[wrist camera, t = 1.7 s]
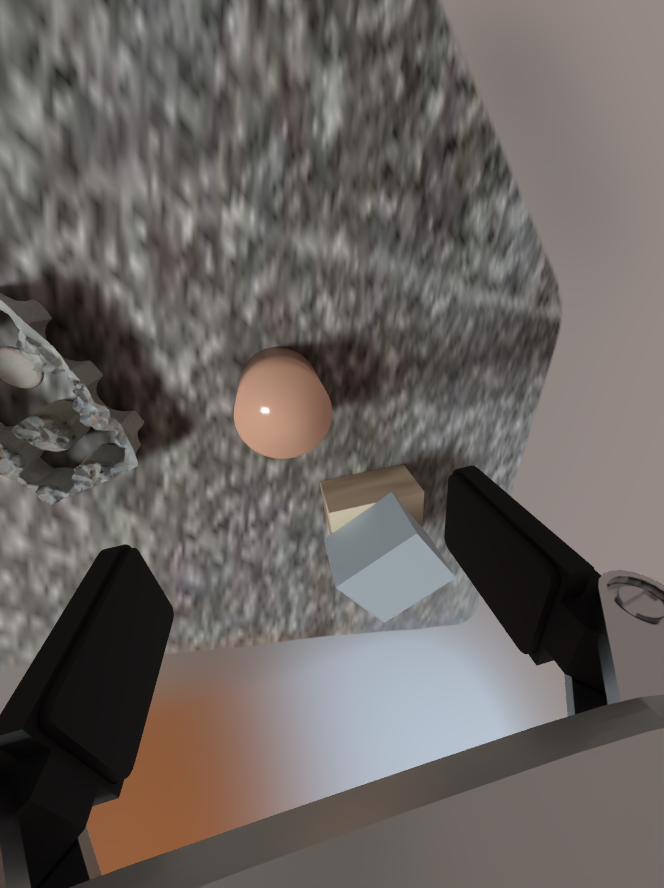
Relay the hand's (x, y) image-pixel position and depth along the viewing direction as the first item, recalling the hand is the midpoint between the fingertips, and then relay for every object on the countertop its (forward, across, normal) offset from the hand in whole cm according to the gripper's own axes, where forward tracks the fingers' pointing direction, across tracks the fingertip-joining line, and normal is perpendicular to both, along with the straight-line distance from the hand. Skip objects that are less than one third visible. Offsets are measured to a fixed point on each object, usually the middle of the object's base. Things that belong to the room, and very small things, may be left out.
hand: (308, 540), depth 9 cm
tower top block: (+10, -5, +11) cm, 15 cm away
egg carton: (+13, +13, -3) cm, 19 cm away
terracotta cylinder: (+13, 0, -1) cm, 13 cm away
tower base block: (+14, -5, +11) cm, 18 cm away
